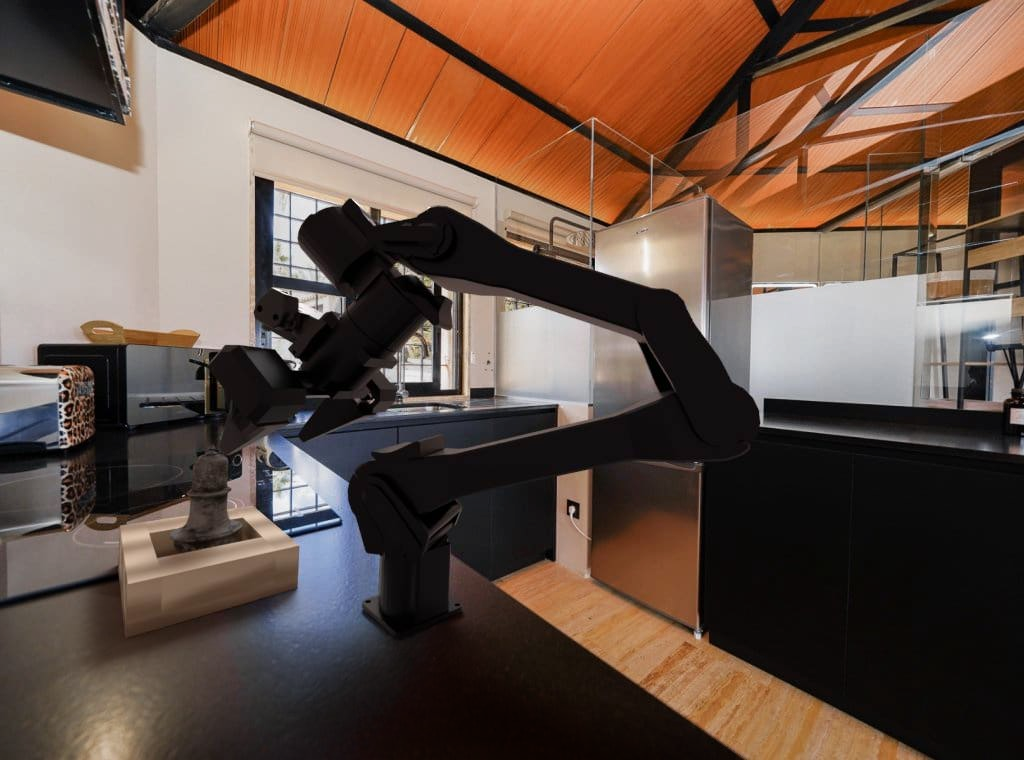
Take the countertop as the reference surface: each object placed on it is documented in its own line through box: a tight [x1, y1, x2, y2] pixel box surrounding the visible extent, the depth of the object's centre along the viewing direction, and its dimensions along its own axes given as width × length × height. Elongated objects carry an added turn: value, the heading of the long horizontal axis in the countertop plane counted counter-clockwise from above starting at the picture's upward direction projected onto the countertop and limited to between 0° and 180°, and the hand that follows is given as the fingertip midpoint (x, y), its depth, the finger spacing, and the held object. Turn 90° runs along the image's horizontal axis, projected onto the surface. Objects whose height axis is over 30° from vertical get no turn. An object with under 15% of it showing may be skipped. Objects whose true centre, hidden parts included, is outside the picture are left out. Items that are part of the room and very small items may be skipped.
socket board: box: [117, 505, 300, 639], centre depth 41 cm, size 17×12×4 cm
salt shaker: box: [170, 444, 243, 554], centre depth 42 cm, size 6×6×12 cm
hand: (266, 444), depth 40 cm, fingers open, 9 cm apart
